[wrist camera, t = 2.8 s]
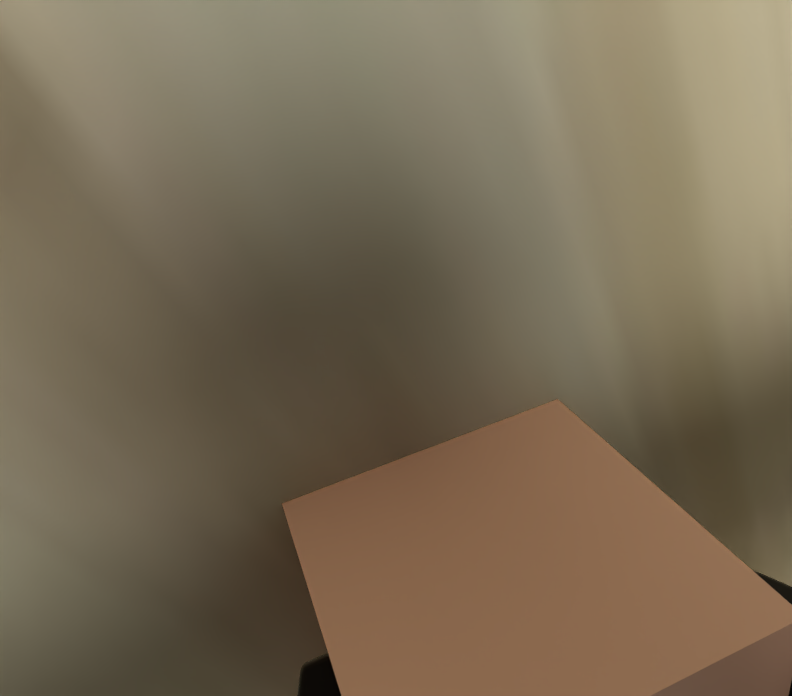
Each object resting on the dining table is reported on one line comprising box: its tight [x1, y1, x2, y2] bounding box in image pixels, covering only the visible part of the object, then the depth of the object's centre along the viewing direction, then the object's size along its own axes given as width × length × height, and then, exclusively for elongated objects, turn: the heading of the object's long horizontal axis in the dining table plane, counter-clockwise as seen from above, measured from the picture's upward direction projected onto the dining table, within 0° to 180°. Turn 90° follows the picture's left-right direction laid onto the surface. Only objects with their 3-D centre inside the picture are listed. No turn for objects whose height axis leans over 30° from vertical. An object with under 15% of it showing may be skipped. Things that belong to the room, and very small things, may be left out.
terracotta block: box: [282, 399, 792, 696], centre depth 8 cm, size 4×4×4 cm
